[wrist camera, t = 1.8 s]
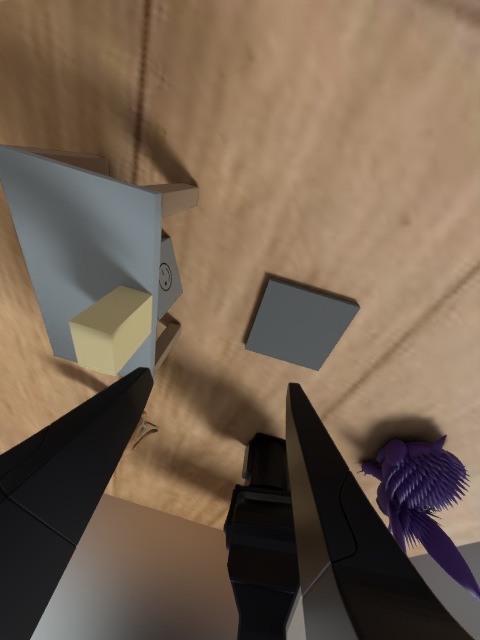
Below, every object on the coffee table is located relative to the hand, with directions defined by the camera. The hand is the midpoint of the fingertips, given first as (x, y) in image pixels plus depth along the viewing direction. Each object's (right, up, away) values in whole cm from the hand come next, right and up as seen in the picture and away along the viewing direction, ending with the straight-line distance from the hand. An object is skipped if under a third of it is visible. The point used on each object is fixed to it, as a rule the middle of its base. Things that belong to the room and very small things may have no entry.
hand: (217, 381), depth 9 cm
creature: (+23, -16, +21) cm, 35 cm away
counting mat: (+6, +2, +12) cm, 14 cm away
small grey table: (-7, +8, +11) cm, 15 cm away
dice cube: (-7, +8, +11) cm, 15 cm away
